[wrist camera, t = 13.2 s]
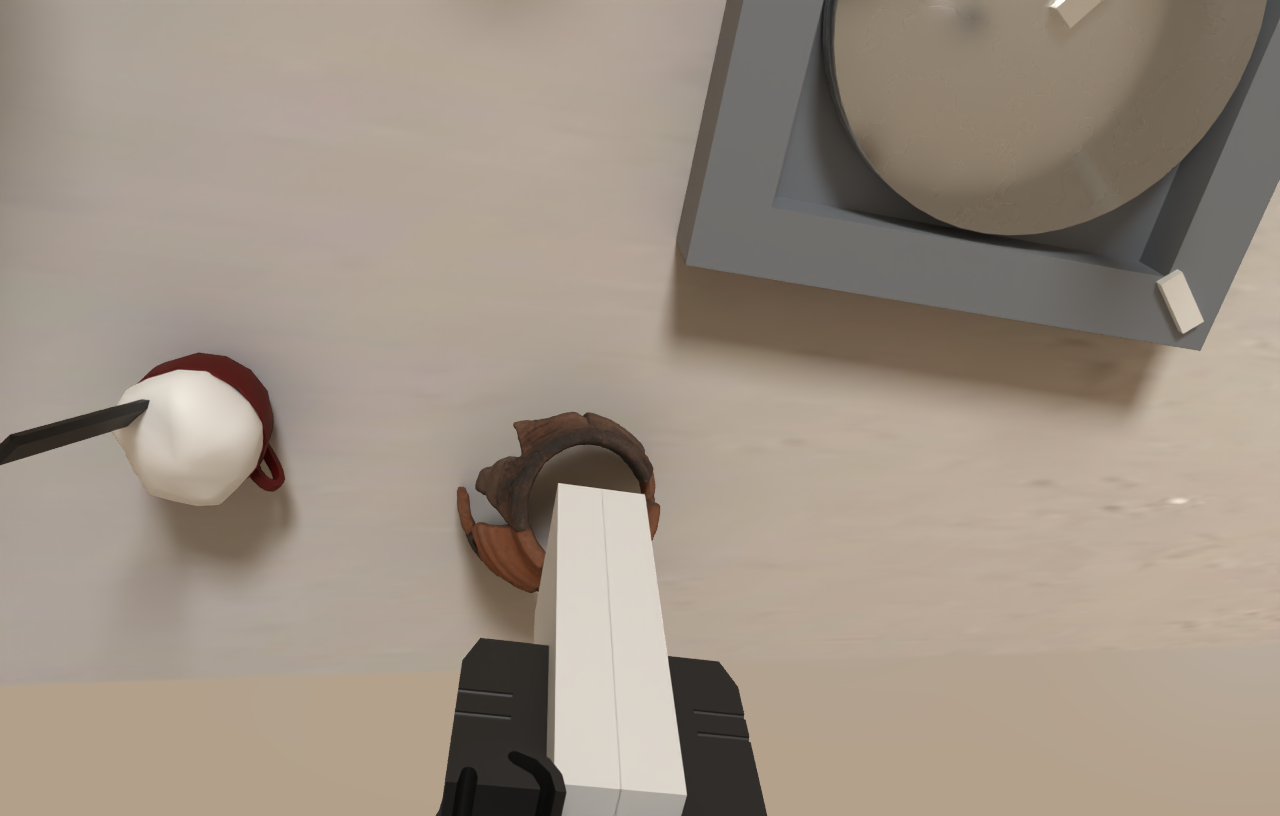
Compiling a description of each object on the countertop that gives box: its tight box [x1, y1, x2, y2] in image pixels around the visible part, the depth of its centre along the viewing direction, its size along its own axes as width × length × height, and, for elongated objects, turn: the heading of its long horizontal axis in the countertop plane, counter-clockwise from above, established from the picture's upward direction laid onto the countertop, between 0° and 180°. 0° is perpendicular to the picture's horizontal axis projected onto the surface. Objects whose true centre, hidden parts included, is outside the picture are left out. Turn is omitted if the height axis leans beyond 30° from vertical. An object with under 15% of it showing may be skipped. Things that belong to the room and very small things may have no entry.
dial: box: [823, 0, 1267, 235], centre depth 34 cm, size 17×17×13 cm
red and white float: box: [0, 353, 285, 506], centre depth 42 cm, size 10×6×12 cm, turn 18°
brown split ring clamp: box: [457, 412, 660, 593], centre depth 49 cm, size 12×10×8 cm
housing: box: [677, 0, 1280, 351], centre depth 40 cm, size 24×24×4 cm
